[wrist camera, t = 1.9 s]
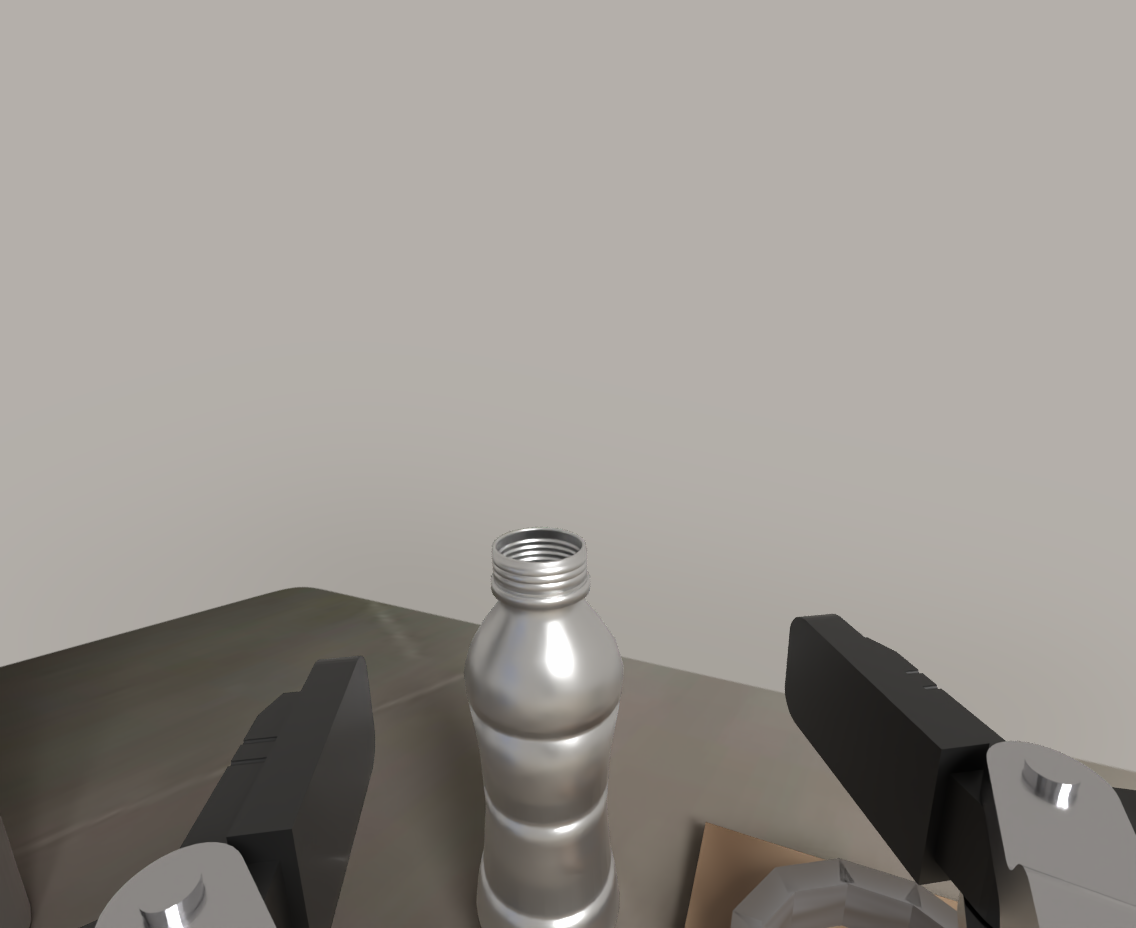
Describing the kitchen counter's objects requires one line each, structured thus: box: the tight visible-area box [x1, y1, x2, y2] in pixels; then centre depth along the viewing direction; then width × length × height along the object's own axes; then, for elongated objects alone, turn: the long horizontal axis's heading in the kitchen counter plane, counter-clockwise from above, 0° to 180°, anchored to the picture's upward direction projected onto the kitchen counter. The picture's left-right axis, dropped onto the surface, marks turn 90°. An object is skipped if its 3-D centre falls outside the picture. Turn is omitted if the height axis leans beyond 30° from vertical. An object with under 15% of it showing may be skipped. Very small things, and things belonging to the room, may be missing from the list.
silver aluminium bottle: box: [464, 527, 624, 928], centre depth 24 cm, size 6×7×20 cm
